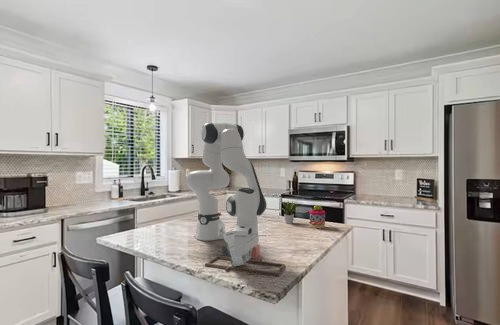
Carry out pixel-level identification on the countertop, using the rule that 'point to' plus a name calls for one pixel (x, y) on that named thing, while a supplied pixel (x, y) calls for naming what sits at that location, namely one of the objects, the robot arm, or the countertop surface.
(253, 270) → the frame
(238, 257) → the syrup box
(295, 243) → the countertop surface
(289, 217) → the house plant
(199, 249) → the countertop surface
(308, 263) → the countertop surface
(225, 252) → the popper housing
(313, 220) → the potted succulent
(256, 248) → the die
